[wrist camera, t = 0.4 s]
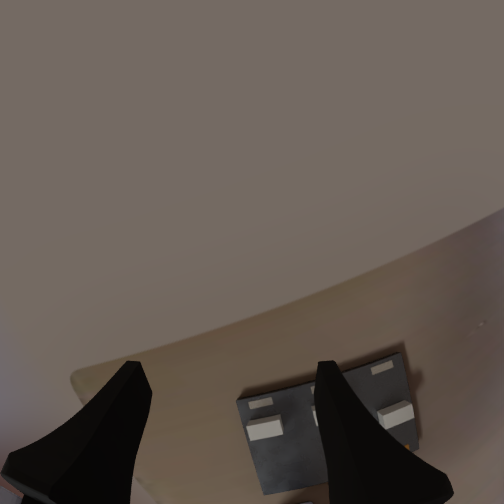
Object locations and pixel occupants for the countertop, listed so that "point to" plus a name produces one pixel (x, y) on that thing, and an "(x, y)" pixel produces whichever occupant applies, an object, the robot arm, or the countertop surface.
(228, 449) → the countertop surface
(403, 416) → the block
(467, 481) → the countertop surface
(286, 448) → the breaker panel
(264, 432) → the block
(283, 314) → the countertop surface
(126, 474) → the robot arm
